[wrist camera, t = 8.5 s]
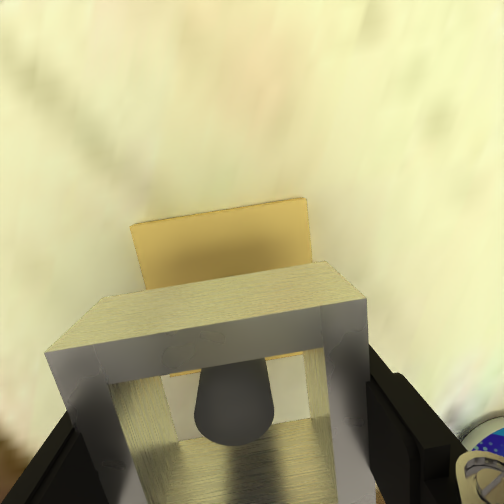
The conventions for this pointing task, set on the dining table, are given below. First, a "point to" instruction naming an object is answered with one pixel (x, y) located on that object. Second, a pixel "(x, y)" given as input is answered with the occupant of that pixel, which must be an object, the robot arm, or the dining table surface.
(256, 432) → the toggle switch
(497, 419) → the beer can
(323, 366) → the silver square frame
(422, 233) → the dining table surface
